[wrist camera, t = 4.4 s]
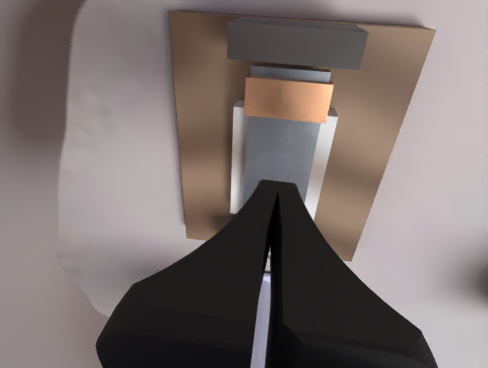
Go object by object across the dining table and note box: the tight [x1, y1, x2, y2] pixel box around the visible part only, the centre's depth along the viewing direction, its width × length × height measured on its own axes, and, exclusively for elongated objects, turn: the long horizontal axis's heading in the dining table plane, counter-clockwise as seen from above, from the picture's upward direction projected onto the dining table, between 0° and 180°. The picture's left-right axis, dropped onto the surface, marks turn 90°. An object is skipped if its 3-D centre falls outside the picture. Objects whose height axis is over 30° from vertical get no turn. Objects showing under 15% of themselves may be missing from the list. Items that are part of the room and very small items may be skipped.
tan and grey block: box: [243, 63, 334, 259], centre depth 19 cm, size 14×4×1 cm, turn 177°
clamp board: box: [168, 11, 436, 261], centre depth 19 cm, size 17×14×5 cm
